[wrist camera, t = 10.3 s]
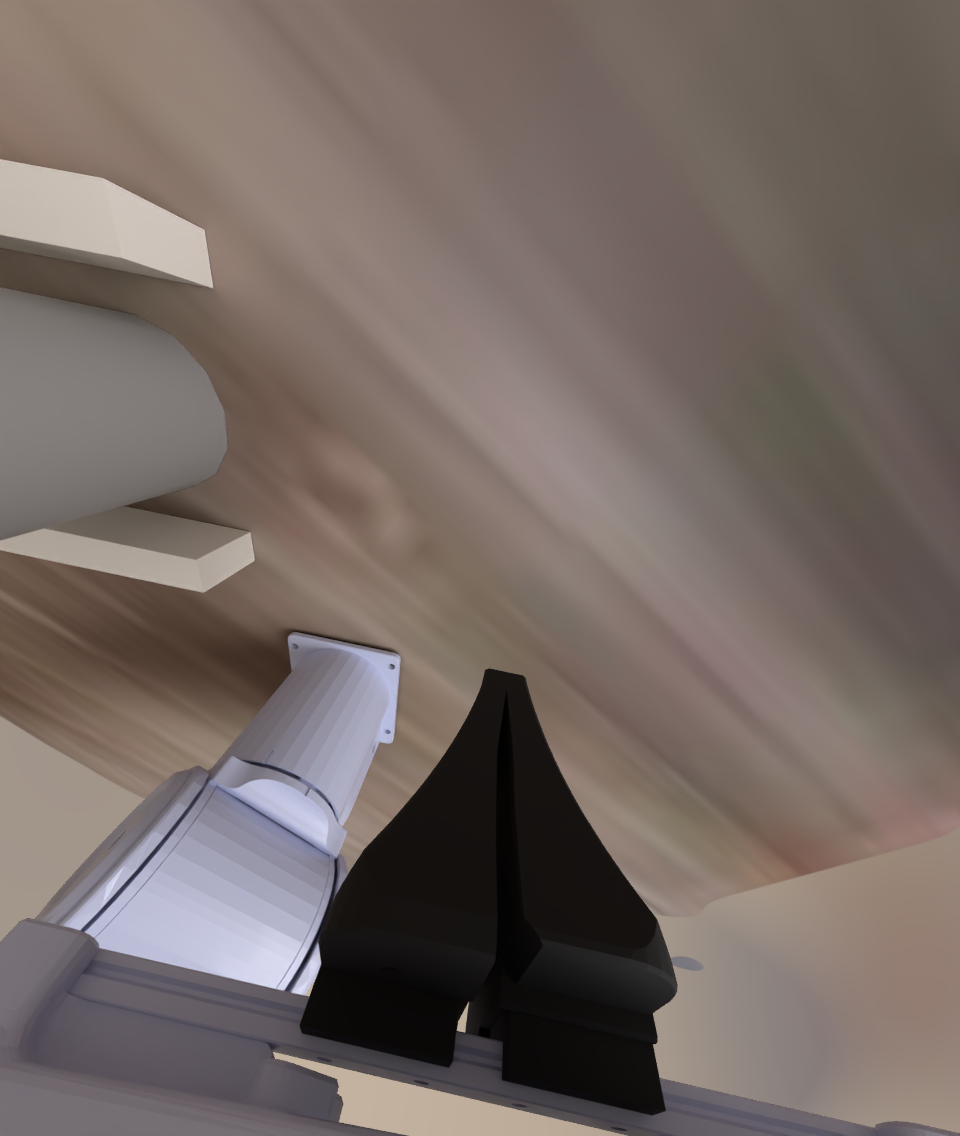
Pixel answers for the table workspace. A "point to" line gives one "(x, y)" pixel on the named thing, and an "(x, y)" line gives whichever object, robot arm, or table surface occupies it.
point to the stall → (142, 246)
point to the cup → (96, 412)
